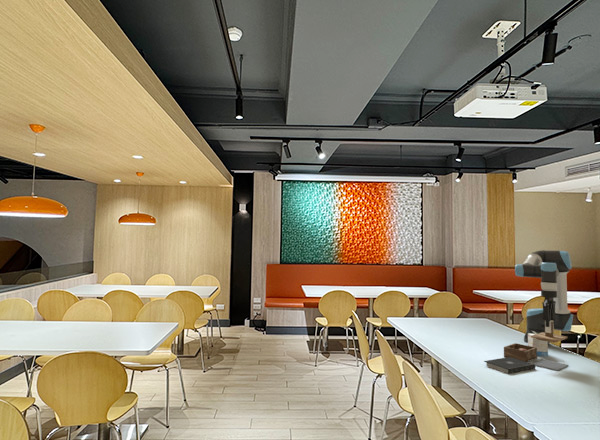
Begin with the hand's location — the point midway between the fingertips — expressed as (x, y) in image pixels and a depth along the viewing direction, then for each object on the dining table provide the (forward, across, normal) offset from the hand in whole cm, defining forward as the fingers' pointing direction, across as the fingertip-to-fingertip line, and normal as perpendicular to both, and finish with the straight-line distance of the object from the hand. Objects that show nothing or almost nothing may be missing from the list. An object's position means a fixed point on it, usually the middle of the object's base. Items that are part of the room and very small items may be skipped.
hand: (549, 332), depth 213 cm
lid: (+4, 0, 0) cm, 4 cm away
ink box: (+18, -20, -13) cm, 30 cm away
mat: (+18, 0, 0) cm, 18 cm away
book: (+19, +24, -12) cm, 33 cm away
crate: (+18, -2, -16) cm, 24 cm away
